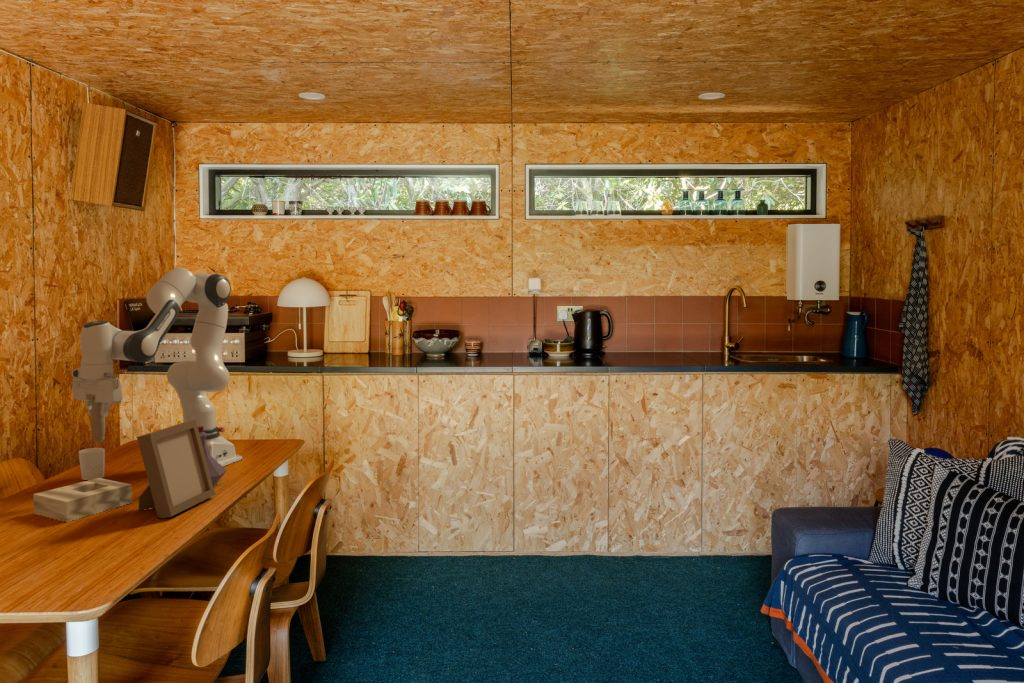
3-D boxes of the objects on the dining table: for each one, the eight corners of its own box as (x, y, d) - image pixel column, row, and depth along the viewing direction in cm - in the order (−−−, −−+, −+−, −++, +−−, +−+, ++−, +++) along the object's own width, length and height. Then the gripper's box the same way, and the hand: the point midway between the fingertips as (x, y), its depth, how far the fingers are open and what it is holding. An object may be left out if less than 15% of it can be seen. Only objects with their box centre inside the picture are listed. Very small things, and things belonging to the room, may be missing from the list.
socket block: (99, 496, 231) (98, 477, 231) (131, 503, 224) (131, 484, 224) (34, 513, 214) (33, 494, 213) (67, 522, 206) (66, 501, 206)
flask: (173, 494, 234) (171, 433, 232) (175, 481, 249) (173, 424, 247) (228, 489, 240) (226, 429, 238) (226, 476, 255) (224, 420, 254)
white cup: (111, 476, 254) (110, 448, 254) (91, 482, 247) (90, 453, 246) (94, 474, 257) (93, 447, 256) (74, 480, 250) (73, 451, 249)
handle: (105, 442, 228) (104, 395, 227) (84, 442, 227) (83, 395, 226) (112, 439, 233) (111, 393, 232) (91, 439, 232) (90, 393, 231)
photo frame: (215, 497, 230) (211, 420, 228) (171, 519, 209) (167, 434, 207) (173, 495, 233) (169, 419, 231) (126, 517, 212) (121, 433, 210)
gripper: (127, 373, 227) (128, 417, 228) (87, 369, 236) (88, 411, 237) (108, 375, 221) (109, 420, 222) (68, 371, 231) (69, 414, 231)
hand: (98, 415), depth 230 cm, fingers closed on handle, 5 cm apart
